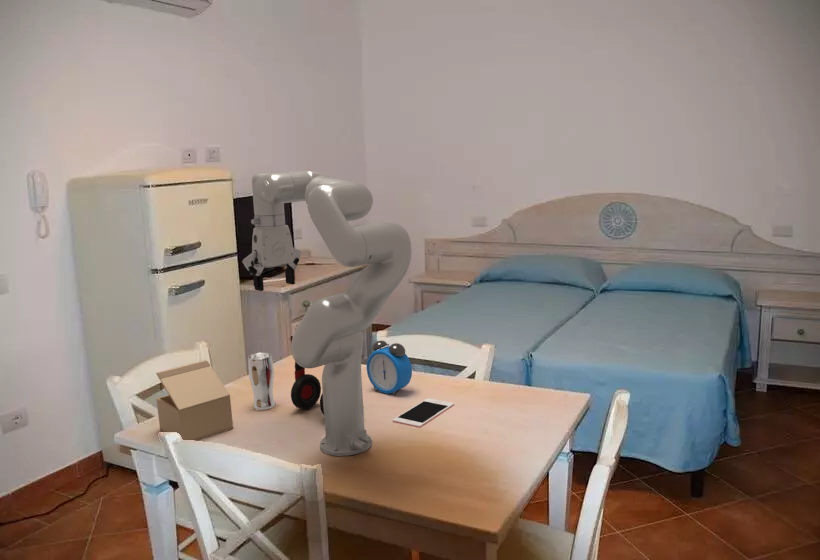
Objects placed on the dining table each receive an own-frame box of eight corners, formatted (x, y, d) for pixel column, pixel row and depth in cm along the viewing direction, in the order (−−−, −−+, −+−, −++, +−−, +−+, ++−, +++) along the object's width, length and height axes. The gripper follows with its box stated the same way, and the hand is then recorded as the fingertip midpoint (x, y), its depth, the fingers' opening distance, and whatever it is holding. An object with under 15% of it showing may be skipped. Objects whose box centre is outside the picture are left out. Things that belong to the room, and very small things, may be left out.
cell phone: (454, 406, 193) (454, 403, 192) (420, 429, 178) (419, 425, 178) (427, 400, 197) (427, 397, 197) (391, 423, 183) (391, 419, 183)
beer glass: (279, 401, 201) (275, 351, 198) (272, 410, 194) (268, 359, 192) (256, 401, 202) (251, 352, 199) (248, 410, 195) (243, 359, 192)
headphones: (287, 412, 193) (281, 342, 189) (314, 401, 200) (309, 334, 196) (329, 426, 181) (324, 353, 178) (356, 414, 189) (352, 344, 185)
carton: (233, 428, 183) (230, 396, 181) (182, 445, 174) (178, 411, 172) (209, 414, 193) (205, 384, 192) (160, 430, 184) (156, 398, 183)
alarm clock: (367, 390, 207) (364, 341, 204) (380, 384, 212) (377, 336, 209) (400, 398, 199) (398, 348, 196) (414, 391, 204) (411, 342, 201)
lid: (229, 396, 181) (230, 394, 181) (179, 411, 172) (179, 409, 172) (206, 361, 189) (206, 359, 189) (156, 374, 180) (156, 372, 180)
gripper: (249, 226, 168) (254, 295, 172) (306, 218, 180) (310, 283, 184) (232, 224, 174) (238, 291, 177) (289, 217, 186) (293, 279, 189)
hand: (275, 287), depth 180 cm, fingers open, 9 cm apart
